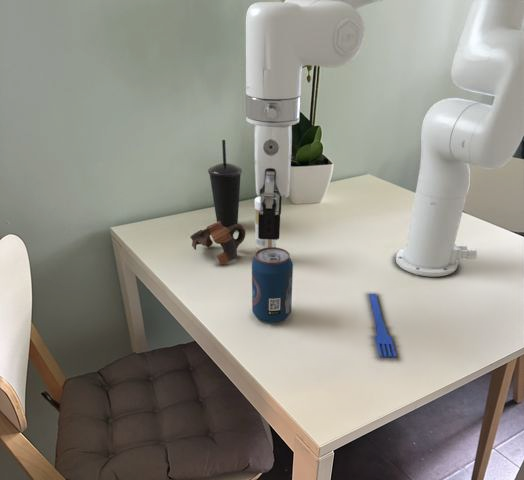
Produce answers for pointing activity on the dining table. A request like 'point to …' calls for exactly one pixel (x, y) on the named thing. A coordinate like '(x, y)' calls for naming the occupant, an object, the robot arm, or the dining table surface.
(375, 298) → the blue fork
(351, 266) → the dining table surface
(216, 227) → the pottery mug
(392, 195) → the dining table surface
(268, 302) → the soda can
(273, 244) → the sprinkles bottle
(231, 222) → the drinking cup
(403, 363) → the dining table surface
